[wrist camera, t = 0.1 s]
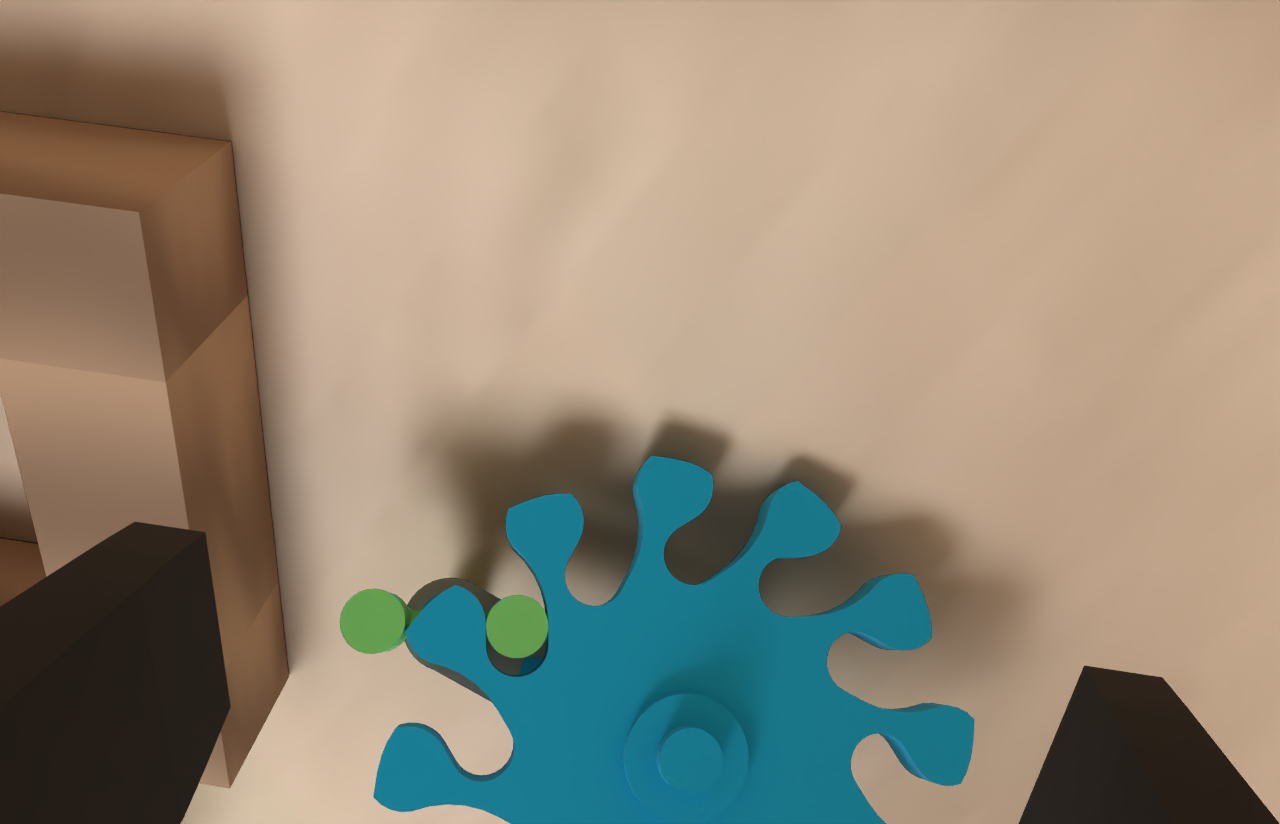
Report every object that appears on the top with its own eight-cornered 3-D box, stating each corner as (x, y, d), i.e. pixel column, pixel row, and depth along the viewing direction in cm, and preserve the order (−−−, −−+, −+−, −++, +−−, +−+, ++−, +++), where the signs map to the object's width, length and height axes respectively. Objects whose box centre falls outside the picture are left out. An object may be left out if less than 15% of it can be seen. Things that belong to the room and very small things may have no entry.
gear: (1084, 632, 19) (828, 1231, 17) (948, 633, 25) (744, 1081, 23) (515, 312, 19) (178, 873, 17) (510, 387, 25) (259, 813, 23)
